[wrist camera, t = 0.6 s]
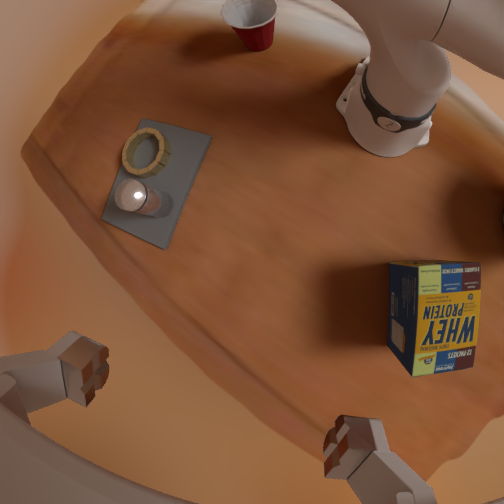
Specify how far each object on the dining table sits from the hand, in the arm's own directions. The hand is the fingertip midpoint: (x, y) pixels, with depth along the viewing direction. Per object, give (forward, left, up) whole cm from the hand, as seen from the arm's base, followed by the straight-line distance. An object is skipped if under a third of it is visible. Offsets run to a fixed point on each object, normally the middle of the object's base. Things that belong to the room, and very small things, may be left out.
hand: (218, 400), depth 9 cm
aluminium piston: (-4, -28, -43) cm, 51 cm away
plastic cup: (-44, -24, -44) cm, 67 cm away
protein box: (-5, +22, -44) cm, 50 cm away
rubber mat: (-8, -32, -44) cm, 55 cm away
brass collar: (-12, -35, -43) cm, 57 cm away
